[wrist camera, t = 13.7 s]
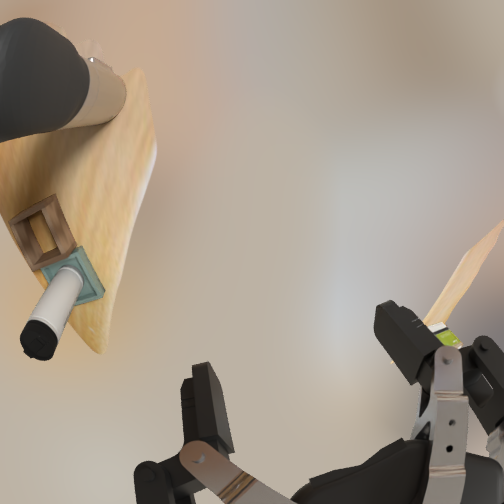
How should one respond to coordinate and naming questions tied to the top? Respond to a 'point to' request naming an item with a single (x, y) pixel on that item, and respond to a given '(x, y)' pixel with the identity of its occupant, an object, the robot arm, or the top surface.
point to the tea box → (445, 335)
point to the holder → (56, 227)
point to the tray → (91, 280)
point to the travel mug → (52, 314)
